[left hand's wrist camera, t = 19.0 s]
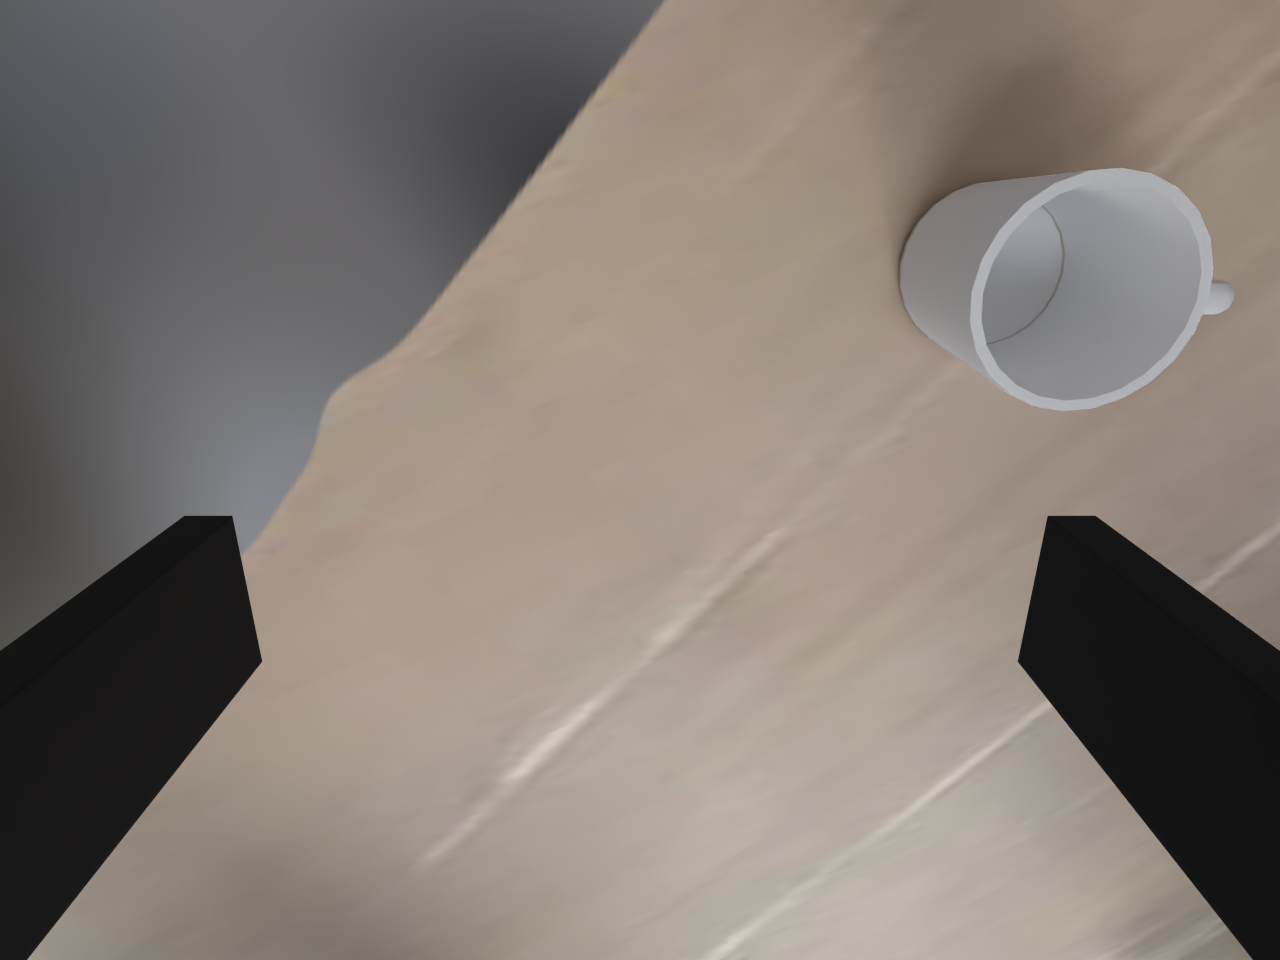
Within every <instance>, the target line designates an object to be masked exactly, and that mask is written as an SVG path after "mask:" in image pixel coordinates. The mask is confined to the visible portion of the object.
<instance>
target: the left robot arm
mask: <svg viewBox="0 0 1280 960" xmlns="http://www.w3.org/2000/svg"><path fill="white" fill-rule="evenodd" d="M261 662H262V659H261V654H260V649H259V644H258V639H257V634H256V629H255V624H254V620H253V615H252V610H251V605H250V600H249V595H248V590H247V586H246V581H245V576H244V571H243V566H242V561H241V556H240V552H239V547H238V542H237V537H236V532H235V527H234V523H233V517H232V516H184V517H182V518H181V519H180V520H178V521H177V522H176V523H174V524H173V525H172V526H170V527H169V528H167V529H166V530H165V531H163V532H162V533H161V534H159V535H158V536H157V537H155V538H154V539H152V540H151V541H150V542H148V543H147V544H146V545H144V546H143V547H141V548H140V549H139V550H137V551H136V552H135V553H133V554H132V555H131V556H129V557H128V558H127V559H125V560H124V561H122V562H121V563H120V564H118V565H117V566H116V567H114V568H113V569H111V570H110V571H109V572H107V573H106V574H105V575H103V576H102V577H101V578H99V579H98V580H96V581H95V582H94V583H92V584H91V585H90V586H88V587H87V588H86V589H84V590H83V591H81V592H80V593H79V594H77V595H76V596H75V597H73V598H72V599H71V600H69V601H68V602H66V603H65V604H64V605H62V606H61V607H60V608H58V609H57V610H56V611H54V612H53V613H51V614H50V615H49V616H47V617H46V618H45V619H43V620H42V621H41V622H39V623H38V624H36V625H35V626H34V627H32V628H31V629H30V630H28V631H27V632H26V633H24V634H23V635H21V636H20V637H19V638H17V639H16V640H15V641H13V642H12V643H10V644H9V645H8V646H6V647H5V648H4V649H2V650H1V651H0V960H27V959H28V958H29V957H30V955H31V954H32V953H33V951H34V950H35V949H36V948H37V946H38V945H39V944H40V943H41V941H42V940H43V939H44V938H45V936H46V935H47V934H48V932H49V931H50V930H51V929H52V927H53V926H54V925H55V924H56V922H57V921H58V920H59V918H60V917H61V916H62V915H63V913H64V912H65V911H66V910H67V908H68V907H69V906H70V905H71V903H72V902H73V901H74V899H75V898H76V897H77V896H78V894H79V893H80V892H81V891H82V889H83V888H84V887H85V885H86V884H87V883H88V882H89V880H90V879H91V878H92V877H93V875H94V874H95V873H96V872H97V870H98V869H99V868H100V866H101V865H102V864H103V863H104V861H105V860H106V859H107V858H108V856H109V855H110V854H111V853H112V851H113V850H114V849H115V847H116V846H117V845H118V844H119V842H120V841H121V840H122V839H123V837H124V836H125V835H126V833H127V832H128V831H129V830H130V828H131V827H132V826H133V825H134V823H135V822H136V821H137V820H138V818H139V817H140V816H141V814H142V813H143V812H144V811H145V809H146V808H147V807H148V806H149V804H150V803H151V802H152V801H153V799H154V798H155V797H156V795H157V794H158V793H159V792H160V790H161V789H162V788H163V787H164V785H165V784H166V783H167V781H168V780H169V779H170V778H171V776H172V775H173V774H174V773H175V771H176V770H177V769H178V768H179V766H180V765H181V764H182V762H183V761H184V760H185V759H186V757H187V756H188V755H189V754H190V752H191V751H192V750H193V749H194V747H195V746H196V745H197V743H198V742H199V741H200V740H201V738H202V737H203V736H204V735H205V733H206V732H207V731H208V729H209V728H210V727H211V726H212V724H213V723H214V722H215V721H216V719H217V718H218V717H219V716H220V714H221V713H222V712H223V710H224V709H225V708H226V707H227V705H228V704H229V703H230V702H231V700H232V699H233V698H234V697H235V695H236V694H237V693H238V691H239V690H240V689H241V688H242V686H243V685H244V684H245V683H246V681H247V680H248V679H249V677H250V676H251V675H252V674H253V672H254V671H255V670H256V669H257V667H258V666H259V665H260V664H261ZM1018 662H1019V664H1020V665H1021V666H1022V667H1023V669H1024V670H1025V671H1026V672H1027V674H1028V675H1029V676H1030V677H1031V679H1032V680H1033V681H1034V683H1035V684H1036V685H1037V686H1038V688H1039V689H1040V690H1041V691H1042V693H1043V694H1044V695H1045V697H1046V698H1047V699H1048V700H1049V702H1050V703H1051V704H1052V705H1053V707H1054V708H1055V709H1056V710H1057V712H1058V713H1059V714H1060V716H1061V717H1062V718H1063V719H1064V721H1065V722H1066V723H1067V724H1068V726H1069V727H1070V728H1071V729H1072V731H1073V732H1074V733H1075V735H1076V736H1077V737H1078V738H1079V740H1080V741H1081V742H1082V743H1083V745H1084V746H1085V747H1086V749H1087V750H1088V751H1089V752H1090V754H1091V755H1092V756H1093V757H1094V759H1095V760H1096V761H1097V762H1098V764H1099V765H1100V766H1101V768H1102V769H1103V770H1104V771H1105V773H1106V774H1107V775H1108V776H1109V778H1110V779H1111V780H1112V781H1113V783H1114V784H1115V785H1116V787H1117V788H1118V789H1119V790H1120V792H1121V793H1122V794H1123V795H1124V797H1125V798H1126V799H1127V801H1128V802H1129V803H1130V804H1131V806H1132V807H1133V808H1134V809H1135V811H1136V812H1137V813H1138V814H1139V816H1140V817H1141V818H1142V820H1143V821H1144V822H1145V823H1146V825H1147V826H1148V827H1149V828H1150V830H1151V831H1152V832H1153V833H1154V835H1155V836H1156V837H1157V839H1158V840H1159V841H1160V842H1161V844H1162V845H1163V846H1164V847H1165V849H1166V850H1167V851H1168V853H1169V854H1170V855H1171V856H1172V858H1173V859H1174V860H1175V861H1176V863H1177V864H1178V865H1179V866H1180V868H1181V869H1182V870H1183V872H1184V873H1185V874H1186V875H1187V877H1188V878H1189V879H1190V880H1191V882H1192V883H1193V884H1194V885H1195V887H1196V888H1197V889H1198V891H1199V892H1200V893H1201V894H1202V896H1203V897H1204V898H1205V899H1206V901H1207V902H1208V903H1209V905H1210V906H1211V907H1212V908H1213V910H1214V911H1215V912H1216V913H1217V915H1218V916H1219V917H1220V918H1221V920H1222V921H1223V922H1224V924H1225V925H1226V926H1227V927H1228V929H1229V930H1230V931H1231V932H1232V934H1233V935H1234V936H1235V938H1236V939H1237V940H1238V941H1239V943H1240V944H1241V945H1242V946H1243V948H1244V949H1245V950H1246V951H1247V953H1248V954H1249V955H1250V957H1251V958H1252V959H1253V960H1280V651H1279V650H1278V649H1276V648H1275V647H1274V646H1272V645H1271V644H1270V643H1268V642H1267V641H1265V640H1264V639H1263V638H1261V637H1260V636H1259V635H1257V634H1256V633H1254V632H1253V631H1252V630H1250V629H1249V628H1248V627H1246V626H1245V625H1244V624H1242V623H1241V622H1239V621H1238V620H1237V619H1235V618H1234V617H1233V616H1231V615H1230V614H1229V613H1227V612H1226V611H1224V610H1223V609H1222V608H1220V607H1219V606H1218V605H1216V604H1215V603H1214V602H1212V601H1211V600H1209V599H1208V598H1207V597H1205V596H1204V595H1203V594H1201V593H1200V592H1199V591H1197V590H1196V589H1194V588H1193V587H1192V586H1190V585H1189V584H1188V583H1186V582H1185V581H1184V580H1182V579H1181V578H1179V577H1178V576H1177V575H1175V574H1174V573H1173V572H1171V571H1170V570H1169V569H1167V568H1166V567H1164V566H1163V565H1162V564H1160V563H1159V562H1158V561H1156V560H1155V559H1154V558H1152V557H1151V556H1149V555H1148V554H1147V553H1145V552H1144V551H1143V550H1141V549H1140V548H1139V547H1137V546H1136V545H1134V544H1133V543H1132V542H1130V541H1129V540H1128V539H1126V538H1125V537H1124V536H1122V535H1121V534H1119V533H1118V532H1117V531H1115V530H1114V529H1113V528H1111V527H1110V526H1108V525H1107V524H1106V523H1104V522H1103V521H1102V520H1100V519H1099V518H1098V517H1096V516H1048V517H1047V522H1046V527H1045V532H1044V537H1043V542H1042V547H1041V552H1040V556H1039V561H1038V566H1037V571H1036V576H1035V581H1034V586H1033V590H1032V595H1031V600H1030V605H1029V610H1028V615H1027V620H1026V624H1025V629H1024V634H1023V639H1022V644H1021V649H1020V654H1019V659H1018Z"/></svg>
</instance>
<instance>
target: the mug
mask: <svg viewBox="0 0 1280 960" xmlns="http://www.w3.org/2000/svg"><path fill="white" fill-rule="evenodd" d="M1213 270H1214V268H1213V258H1212V248H1211V238H1210V236H1209V233H1208V231H1207V229H1206V226H1205V224H1204V222H1203V219H1202V217H1201V214H1200V212H1199V210H1198V209H1197V208H1196V207H1195V206H1194V205H1193V203H1192V202H1191V201H1190V200H1189V199H1188V198H1187V197H1186V196H1185V194H1184V193H1183V192H1182V191H1181V190H1180V189H1179V188H1178V187H1176V186H1174V185H1172V184H1170V183H1169V182H1167V181H1165V180H1163V179H1161V178H1160V177H1158V176H1156V175H1154V174H1152V173H1147V172H1142V171H1136V170H1131V169H1126V168H1108V169H1098V170H1087V171H1078V172H1069V173H1061V174H1052V175H1044V176H1035V177H1026V178H1018V179H1009V180H1001V181H992V182H983V183H974V184H972V185H969V186H966V187H964V188H961V189H958V190H956V191H953V192H951V193H950V194H949V195H947V196H946V197H944V198H943V199H941V200H940V201H938V202H937V203H935V204H934V205H933V206H932V207H931V208H930V209H929V210H928V211H927V212H926V213H925V215H924V216H923V217H922V218H921V219H920V220H919V221H918V222H917V224H916V226H915V227H914V229H913V231H912V233H911V234H910V236H909V238H908V240H907V242H906V244H905V247H904V251H903V254H902V258H901V261H900V265H899V289H900V293H901V298H902V302H903V306H904V308H905V310H906V311H907V313H908V315H909V317H910V318H911V320H912V322H913V324H914V325H915V326H916V327H918V328H919V329H920V330H921V331H922V332H923V333H924V334H925V335H926V336H927V337H929V338H930V339H932V340H933V341H934V342H936V343H937V344H939V345H940V346H941V347H943V348H944V349H946V350H947V351H948V352H950V353H951V354H953V355H954V356H955V357H957V358H958V359H960V360H961V361H962V362H964V363H965V364H967V365H968V366H969V367H971V368H972V369H974V370H975V371H976V372H978V373H979V374H981V375H982V376H984V377H985V378H986V379H988V380H989V381H991V382H992V383H993V384H995V385H996V386H998V387H999V388H1000V389H1002V390H1003V391H1005V392H1006V393H1008V394H1010V395H1012V396H1014V397H1016V398H1018V399H1020V400H1022V401H1024V402H1026V403H1028V404H1030V405H1032V406H1035V407H1041V408H1047V409H1052V410H1058V411H1070V410H1082V409H1092V408H1095V407H1099V406H1102V405H1105V404H1108V403H1111V402H1114V401H1117V400H1120V399H1122V398H1124V397H1126V396H1128V395H1129V394H1131V393H1133V392H1134V391H1136V390H1138V389H1139V388H1141V387H1143V386H1144V385H1146V384H1148V383H1150V382H1151V381H1152V380H1153V379H1154V378H1155V377H1156V376H1158V375H1159V374H1160V373H1161V372H1162V371H1163V370H1164V369H1165V368H1166V367H1167V366H1168V365H1170V364H1171V363H1172V362H1173V361H1174V360H1175V359H1176V358H1177V356H1178V355H1179V353H1180V352H1181V351H1182V349H1183V348H1184V346H1185V345H1186V344H1187V342H1188V341H1189V339H1190V338H1191V337H1192V335H1193V334H1194V332H1195V331H1196V328H1197V326H1198V324H1199V321H1200V319H1201V317H1202V314H1218V313H1221V312H1223V311H1224V310H1226V309H1228V308H1229V306H1230V305H1231V303H1232V301H1233V300H1234V288H1233V287H1232V286H1231V284H1230V283H1229V282H1225V281H1222V280H1216V279H1212V276H1213Z"/></svg>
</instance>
